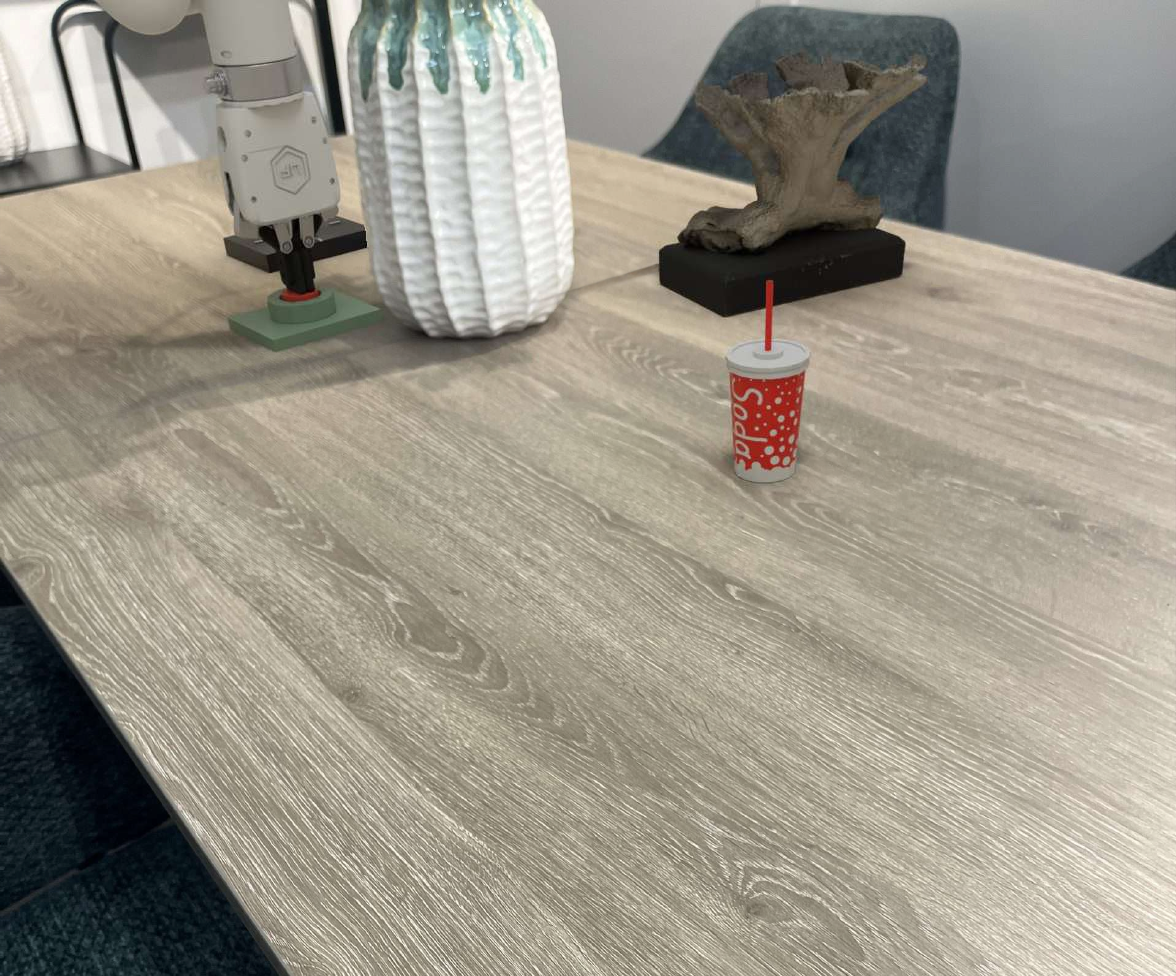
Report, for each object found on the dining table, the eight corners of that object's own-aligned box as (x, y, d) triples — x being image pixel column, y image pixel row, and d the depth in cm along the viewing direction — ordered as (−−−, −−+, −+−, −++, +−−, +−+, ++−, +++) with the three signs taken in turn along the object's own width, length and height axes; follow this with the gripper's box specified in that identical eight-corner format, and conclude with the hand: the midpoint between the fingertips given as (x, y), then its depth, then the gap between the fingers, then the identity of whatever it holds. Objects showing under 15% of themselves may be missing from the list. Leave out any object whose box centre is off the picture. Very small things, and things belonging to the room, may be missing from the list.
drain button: (295, 316, 125) (291, 298, 124) (278, 309, 128) (274, 291, 127) (327, 307, 127) (324, 289, 126) (310, 300, 129) (306, 282, 128)
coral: (854, 241, 143) (869, 21, 130) (968, 287, 128) (997, 43, 115) (655, 281, 136) (649, 52, 123) (751, 335, 121) (756, 81, 108)
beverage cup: (711, 463, 99) (711, 277, 90) (781, 447, 100) (788, 263, 92) (746, 493, 94) (750, 300, 86) (820, 476, 96) (830, 285, 87)
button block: (278, 362, 123) (269, 320, 121) (232, 339, 130) (222, 299, 127) (384, 331, 129) (377, 290, 126) (335, 309, 135) (328, 270, 133)
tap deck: (272, 282, 144) (266, 253, 142) (228, 264, 151) (222, 236, 150) (378, 254, 151) (373, 226, 149) (331, 237, 158) (326, 210, 156)
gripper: (201, 101, 109) (250, 317, 121) (352, 72, 116) (384, 279, 127) (165, 92, 114) (215, 301, 125) (312, 65, 121) (347, 265, 132)
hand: (300, 289), depth 126 cm, fingers closed
